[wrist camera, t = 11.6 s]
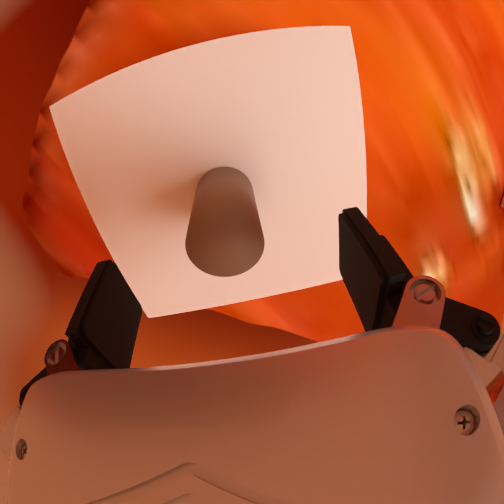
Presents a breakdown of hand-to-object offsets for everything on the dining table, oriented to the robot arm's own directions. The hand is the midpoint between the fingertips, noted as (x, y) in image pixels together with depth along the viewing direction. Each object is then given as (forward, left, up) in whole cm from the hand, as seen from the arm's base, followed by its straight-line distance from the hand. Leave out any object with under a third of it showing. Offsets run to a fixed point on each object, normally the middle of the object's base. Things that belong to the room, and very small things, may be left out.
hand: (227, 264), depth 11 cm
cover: (0, 0, -19) cm, 19 cm away
